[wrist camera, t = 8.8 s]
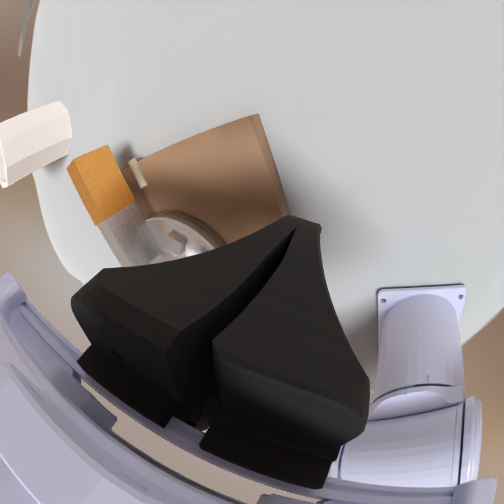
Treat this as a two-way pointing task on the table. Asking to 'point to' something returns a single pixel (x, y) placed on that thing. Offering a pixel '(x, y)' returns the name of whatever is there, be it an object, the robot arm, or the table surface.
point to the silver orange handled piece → (134, 216)
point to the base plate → (213, 180)
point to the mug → (33, 141)
